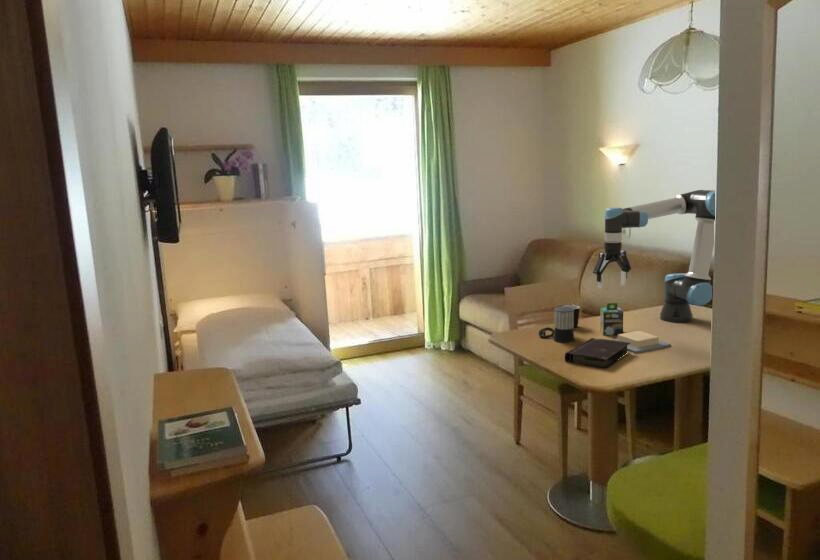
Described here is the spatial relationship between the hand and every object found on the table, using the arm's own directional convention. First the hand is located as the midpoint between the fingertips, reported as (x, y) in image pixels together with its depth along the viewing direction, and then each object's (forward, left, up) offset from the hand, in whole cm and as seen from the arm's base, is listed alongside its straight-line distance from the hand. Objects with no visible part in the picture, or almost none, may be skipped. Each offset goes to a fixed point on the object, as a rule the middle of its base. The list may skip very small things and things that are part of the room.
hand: (611, 287), depth 282 cm
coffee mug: (+8, -20, -22) cm, 31 cm away
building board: (+3, +20, -22) cm, 30 cm away
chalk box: (0, 0, -22) cm, 22 cm away
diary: (+29, +25, -23) cm, 45 cm away
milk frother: (+27, -6, -22) cm, 35 cm away
